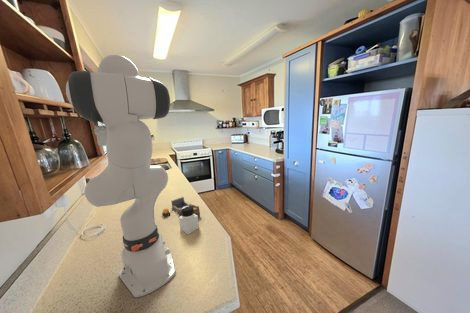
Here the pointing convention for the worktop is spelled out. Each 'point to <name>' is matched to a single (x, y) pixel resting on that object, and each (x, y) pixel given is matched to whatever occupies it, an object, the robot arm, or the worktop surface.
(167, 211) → the ball
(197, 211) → the launch ramp
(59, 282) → the worktop surface
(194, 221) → the medicine bottle
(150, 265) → the robot arm
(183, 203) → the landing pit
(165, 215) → the square nut
